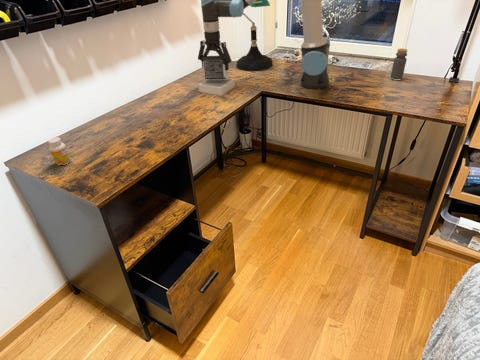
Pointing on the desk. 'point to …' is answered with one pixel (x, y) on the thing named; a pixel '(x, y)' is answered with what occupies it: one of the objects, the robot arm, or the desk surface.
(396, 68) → the bottle
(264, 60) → the banker's lamp
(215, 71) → the small box
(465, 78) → the desk surface
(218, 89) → the base
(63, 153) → the supplement bottle
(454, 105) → the desk surface
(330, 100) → the desk surface
